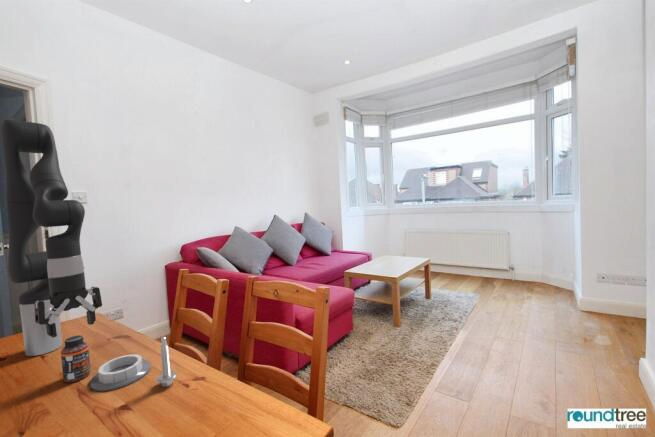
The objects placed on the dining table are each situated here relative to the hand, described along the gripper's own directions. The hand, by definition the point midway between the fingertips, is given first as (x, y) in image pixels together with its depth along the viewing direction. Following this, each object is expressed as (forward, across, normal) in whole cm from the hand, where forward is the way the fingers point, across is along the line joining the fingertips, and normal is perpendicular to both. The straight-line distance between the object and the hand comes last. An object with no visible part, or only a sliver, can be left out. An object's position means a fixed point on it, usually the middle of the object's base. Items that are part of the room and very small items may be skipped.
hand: (72, 330), depth 84 cm
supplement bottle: (+14, 0, 0) cm, 14 cm away
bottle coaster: (+14, -6, +11) cm, 18 cm away
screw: (+14, -9, +27) cm, 32 cm away
